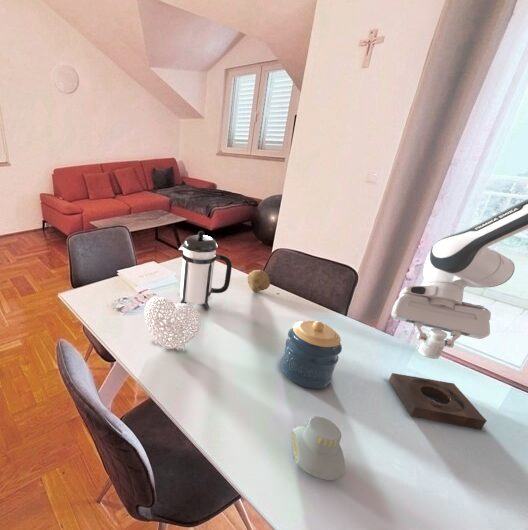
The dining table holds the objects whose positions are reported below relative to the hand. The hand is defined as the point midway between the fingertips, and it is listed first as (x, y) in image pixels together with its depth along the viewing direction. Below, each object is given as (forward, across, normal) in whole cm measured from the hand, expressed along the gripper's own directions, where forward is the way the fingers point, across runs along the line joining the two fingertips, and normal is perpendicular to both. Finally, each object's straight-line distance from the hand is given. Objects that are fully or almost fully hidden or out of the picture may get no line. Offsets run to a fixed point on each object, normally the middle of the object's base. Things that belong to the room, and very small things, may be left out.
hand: (434, 342), depth 87 cm
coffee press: (+5, +70, -8) cm, 70 cm away
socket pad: (+17, 0, +3) cm, 17 cm away
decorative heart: (+28, +66, +15) cm, 74 cm away
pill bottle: (+3, 0, -4) cm, 5 cm away
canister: (+21, +29, +7) cm, 36 cm away
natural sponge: (-10, +51, -24) cm, 57 cm away
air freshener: (+41, +24, +26) cm, 54 cm away
